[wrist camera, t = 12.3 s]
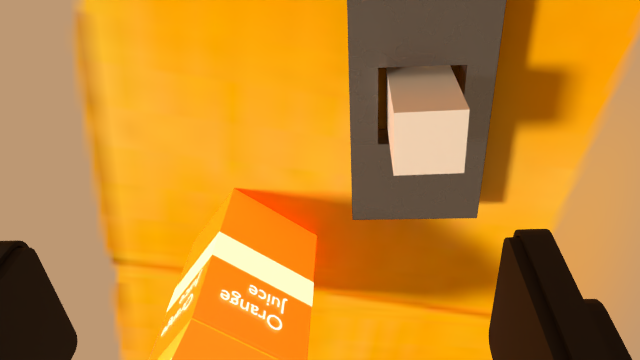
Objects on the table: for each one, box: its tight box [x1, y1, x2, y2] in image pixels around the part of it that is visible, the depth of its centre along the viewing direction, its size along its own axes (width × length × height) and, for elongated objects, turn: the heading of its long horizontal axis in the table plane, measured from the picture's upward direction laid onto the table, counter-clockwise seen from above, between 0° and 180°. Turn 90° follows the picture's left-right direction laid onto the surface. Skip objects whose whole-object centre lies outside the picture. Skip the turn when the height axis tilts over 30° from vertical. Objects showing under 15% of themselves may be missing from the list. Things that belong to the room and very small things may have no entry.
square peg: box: [386, 65, 470, 176], centre depth 36 cm, size 4×4×8 cm
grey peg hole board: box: [347, 0, 506, 220], centre depth 39 cm, size 20×10×2 cm, turn 3°
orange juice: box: [149, 188, 317, 360], centre depth 40 cm, size 8×9×20 cm
